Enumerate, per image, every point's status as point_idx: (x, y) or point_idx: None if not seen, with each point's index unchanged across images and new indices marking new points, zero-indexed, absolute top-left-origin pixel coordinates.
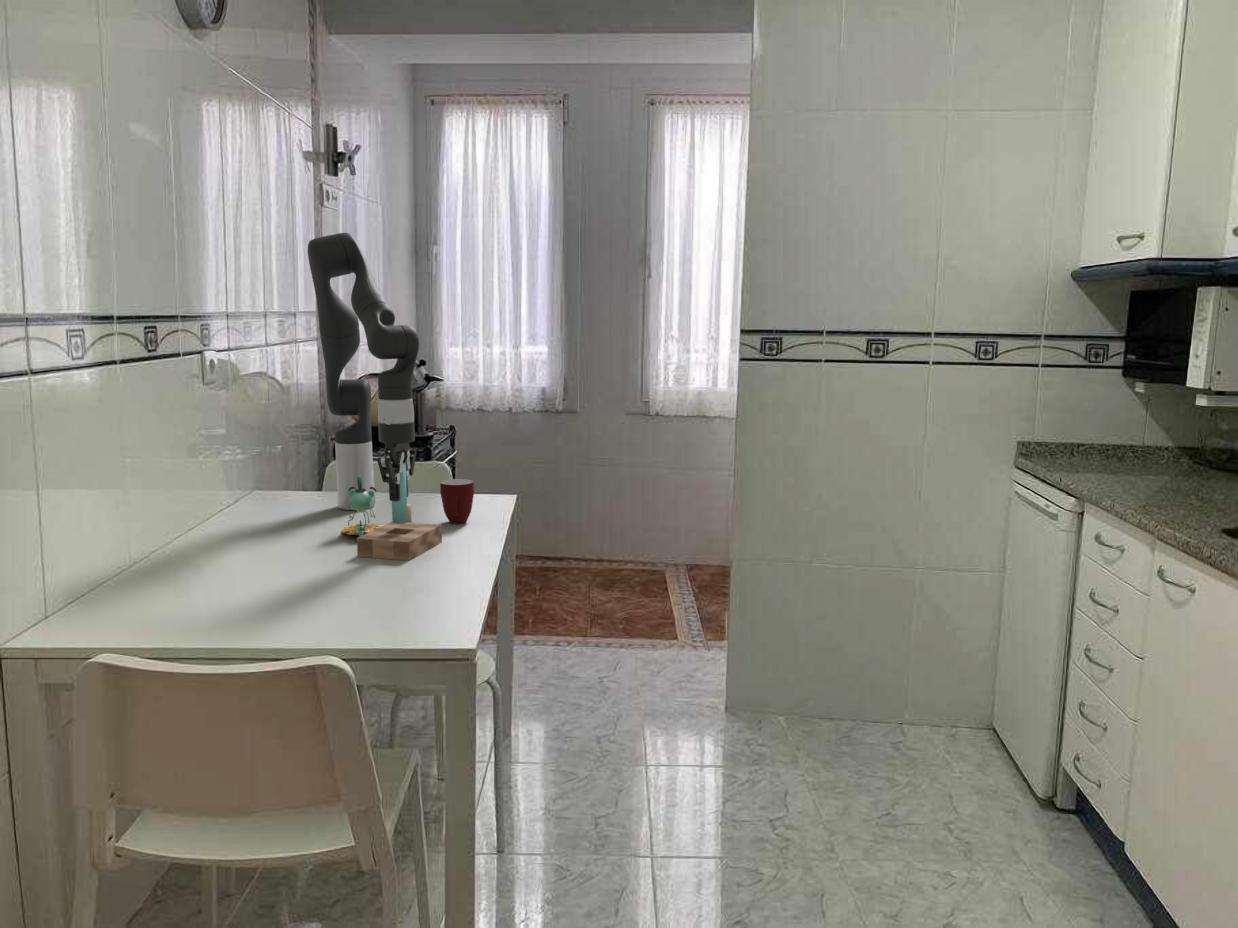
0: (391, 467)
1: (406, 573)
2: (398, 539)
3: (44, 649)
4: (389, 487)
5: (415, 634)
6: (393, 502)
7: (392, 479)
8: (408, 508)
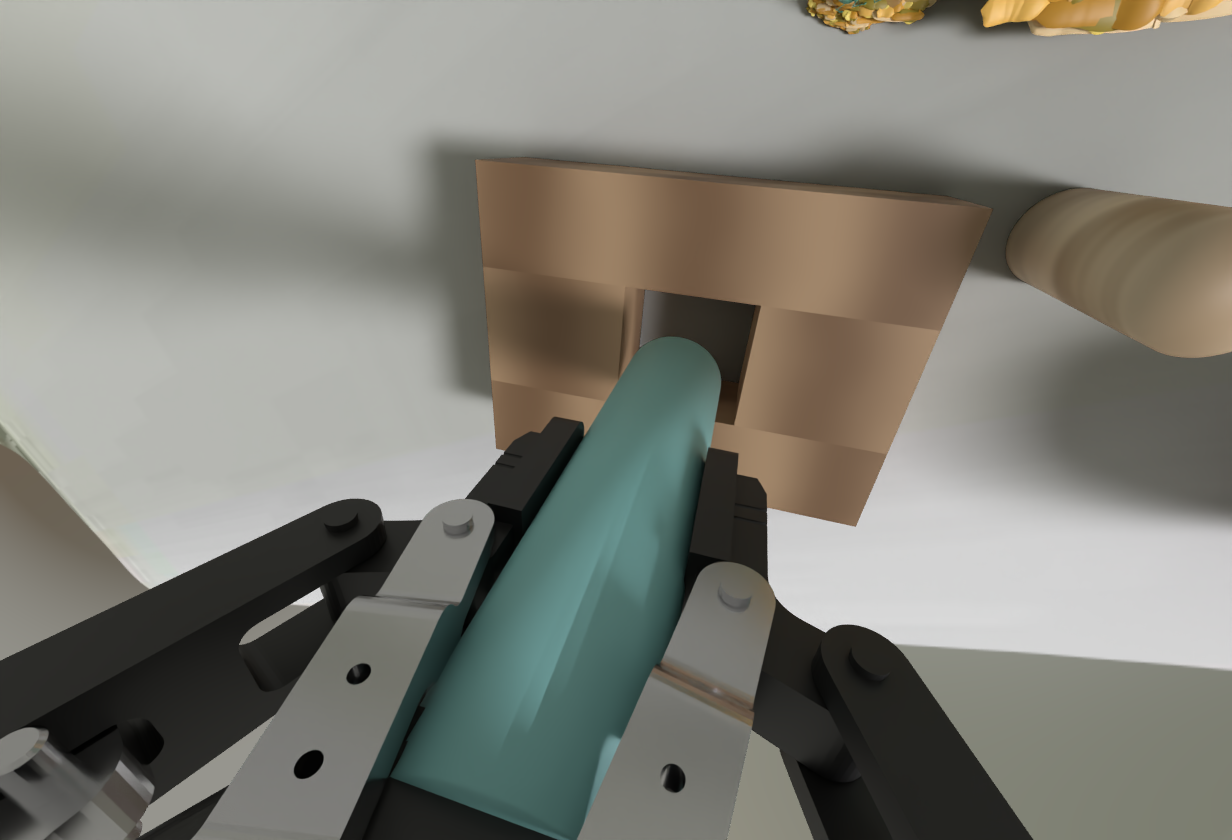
0: (175, 756)
1: (400, 434)
2: (520, 396)
3: None
4: (470, 494)
5: (128, 527)
6: (592, 423)
7: (326, 615)
8: (1132, 337)
